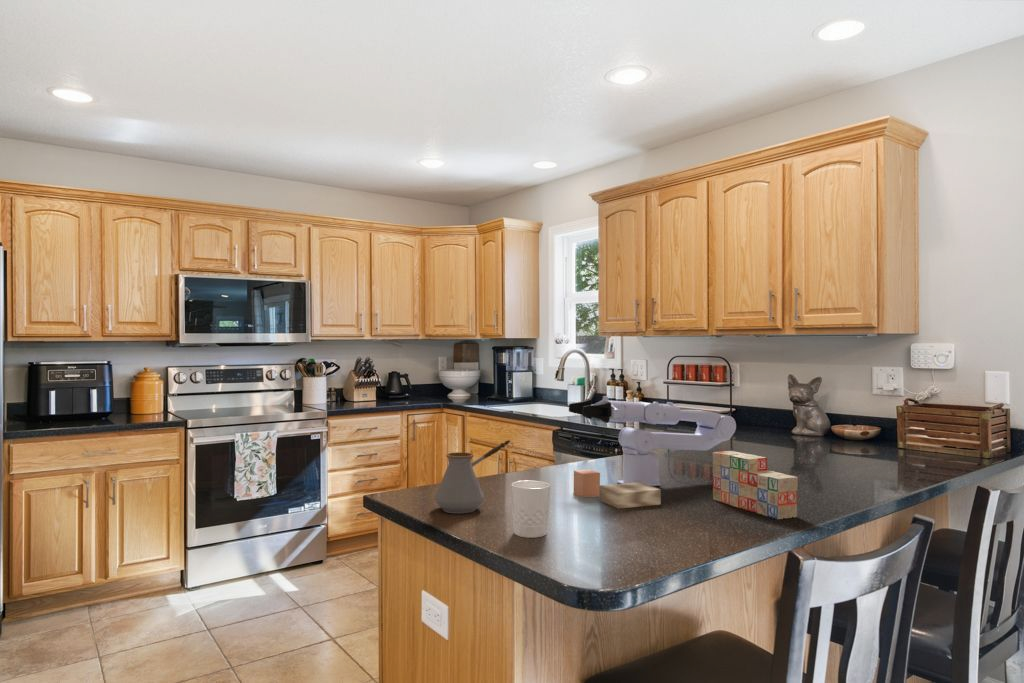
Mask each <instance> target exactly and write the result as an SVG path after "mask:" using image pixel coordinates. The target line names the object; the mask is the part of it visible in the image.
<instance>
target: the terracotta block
mask: <svg viewBox="0 0 1024 683" xmlns="http://www.w3.org/2000/svg"><path fill="white" fill-rule="evenodd" d="M599 485H601V473H600V472H599V471H597V470H594V469H589V468H588V469H578V470H576V469H575V470H573V494H574V495H576V496H579V497H581V498H590V497H591V498H594V497H599Z"/></svg>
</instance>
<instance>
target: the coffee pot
mask: <svg viewBox="0 0 1024 683" xmlns="http://www.w3.org/2000/svg"><path fill="white" fill-rule="evenodd" d="M509 444H511V445H512V446H510V445H509ZM506 445H507V446H508V447H509V448H510V449H511V448H513V447H514V443H513V442H512V441H511V440H510V439H507V440H505V441H504V442H501V443H500V444H499V445H497V446H495V447H493V448H492V449H490V450H488V451H487V452H486V453H485V454H483V455H482V456H480V457H479V458H478V459H476V460H474V461H472V458H473V457H474V453H470V452H448V453H446V455H445V456H446V458H447V460H448V465H447V468H446V470H445V472H444V475H443V477H442V479H441V482H440V484H439V486H438V488H437V491H436V494H435V496H434V501H435V503H436V504H437V506H438V507H439V508H441V509H442V511H444V512H445V513H448V514H449V513H450V514H468V513H469V514H470V513H472V512H475V511H476V510H477V508H479V507H480V506H481V505H482V504H483V502H484V499H485V497H484V496H485V495H484V493H483V490H482V488H481V486H480V483H479V480H478V478H477V476H476V473H475V471H474V468H473V467H475V466H476V465H478V464H479V463H481V462H482V461H484V460H485V459H487V458H489V457H491V456H492V455H494V454H496V453H498V452H499V451H500V450H501V449H502V448H505V446H506Z"/></svg>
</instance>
